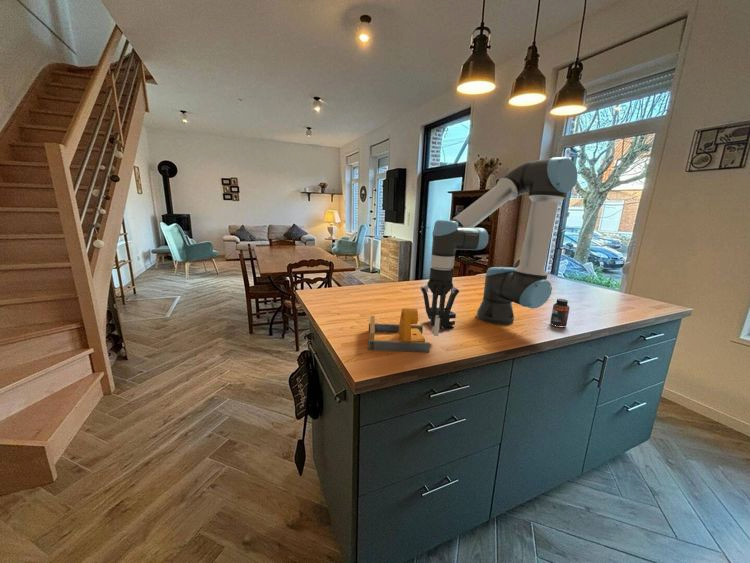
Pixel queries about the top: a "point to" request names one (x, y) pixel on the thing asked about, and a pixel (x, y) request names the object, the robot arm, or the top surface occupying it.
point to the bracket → (409, 326)
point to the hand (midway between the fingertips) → (435, 334)
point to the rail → (394, 344)
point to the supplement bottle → (560, 313)
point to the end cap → (446, 319)
